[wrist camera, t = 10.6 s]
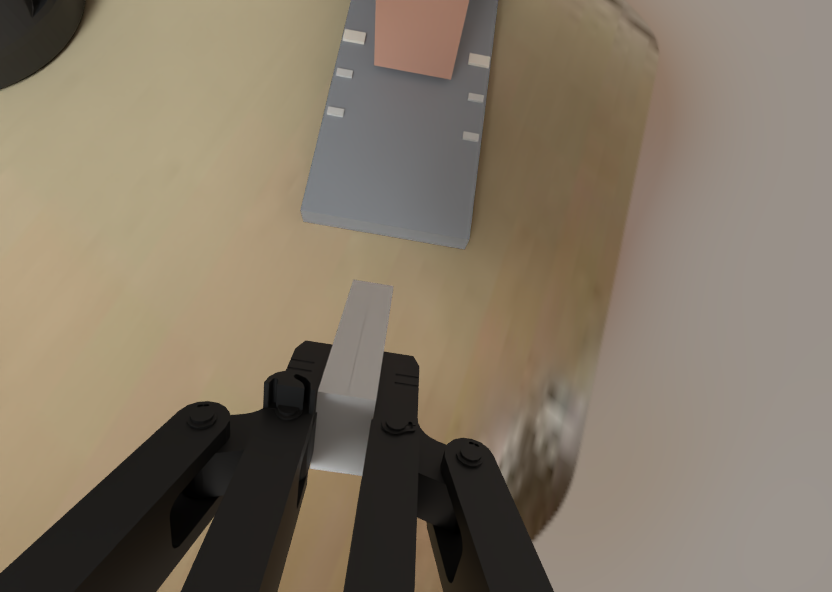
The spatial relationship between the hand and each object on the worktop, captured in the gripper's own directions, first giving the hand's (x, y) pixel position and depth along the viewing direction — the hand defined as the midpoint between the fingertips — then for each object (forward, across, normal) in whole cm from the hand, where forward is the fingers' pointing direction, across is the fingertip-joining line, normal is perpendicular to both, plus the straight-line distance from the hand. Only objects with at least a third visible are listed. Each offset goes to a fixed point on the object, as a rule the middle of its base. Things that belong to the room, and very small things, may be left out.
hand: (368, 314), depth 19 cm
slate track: (+20, 0, +6) cm, 21 cm away
